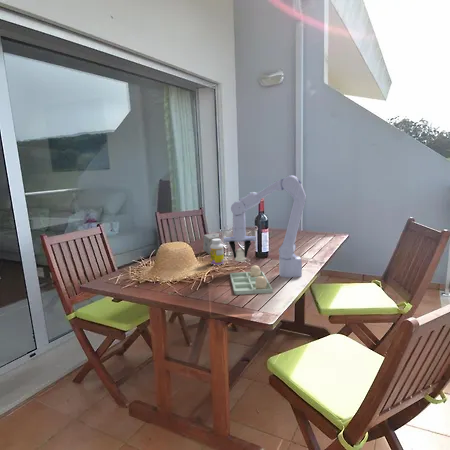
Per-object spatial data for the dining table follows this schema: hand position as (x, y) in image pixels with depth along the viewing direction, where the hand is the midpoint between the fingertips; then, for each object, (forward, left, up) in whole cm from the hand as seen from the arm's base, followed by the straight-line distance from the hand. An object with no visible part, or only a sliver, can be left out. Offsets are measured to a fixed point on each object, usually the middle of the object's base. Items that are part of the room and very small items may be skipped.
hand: (240, 256), depth 150 cm
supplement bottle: (+10, -16, -8) cm, 21 cm away
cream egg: (0, 0, -2) cm, 2 cm away
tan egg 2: (-5, +23, -7) cm, 25 cm away
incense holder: (+11, -40, -8) cm, 42 cm away
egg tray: (-2, +16, -8) cm, 18 cm away
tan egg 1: (-5, +9, -7) cm, 13 cm away
